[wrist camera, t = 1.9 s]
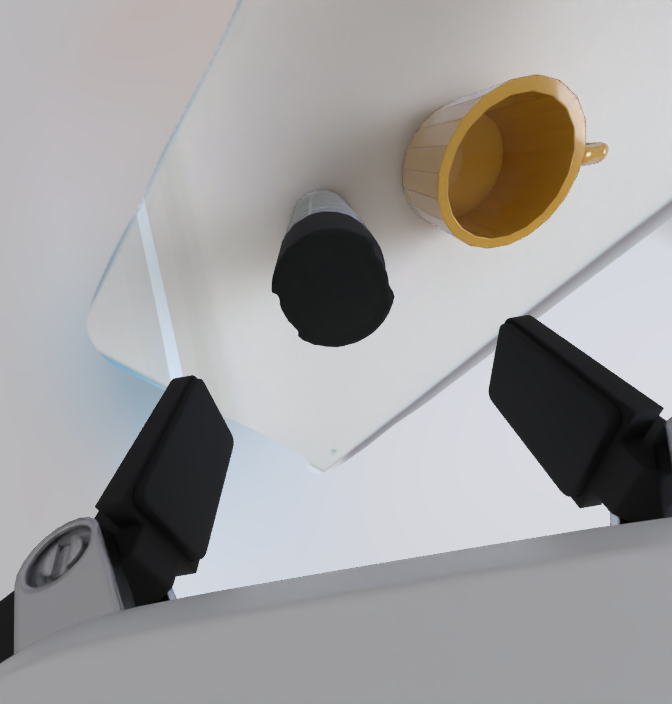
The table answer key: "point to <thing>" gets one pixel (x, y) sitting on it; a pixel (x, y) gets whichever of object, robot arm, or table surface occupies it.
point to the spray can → (331, 273)
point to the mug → (498, 160)
